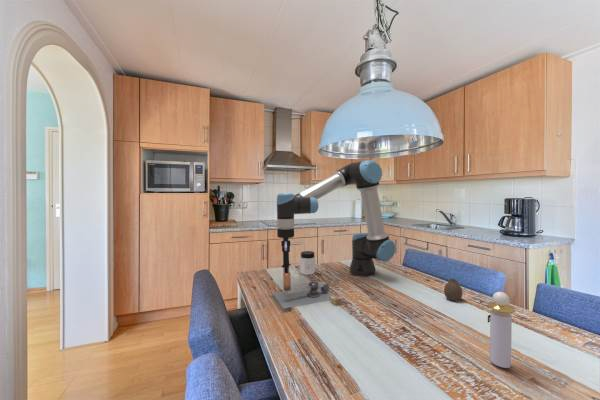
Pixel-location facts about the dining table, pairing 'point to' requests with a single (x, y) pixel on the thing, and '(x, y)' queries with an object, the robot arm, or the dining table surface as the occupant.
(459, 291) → the brown egg shape
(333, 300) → the block
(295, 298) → the base
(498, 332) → the perfume bottle
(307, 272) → the jar
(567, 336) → the dining table surface
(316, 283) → the lever
